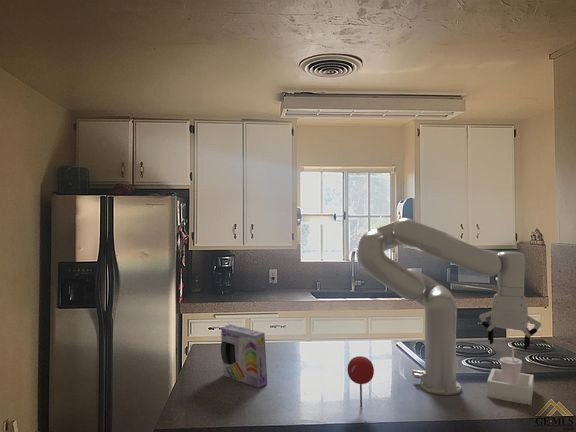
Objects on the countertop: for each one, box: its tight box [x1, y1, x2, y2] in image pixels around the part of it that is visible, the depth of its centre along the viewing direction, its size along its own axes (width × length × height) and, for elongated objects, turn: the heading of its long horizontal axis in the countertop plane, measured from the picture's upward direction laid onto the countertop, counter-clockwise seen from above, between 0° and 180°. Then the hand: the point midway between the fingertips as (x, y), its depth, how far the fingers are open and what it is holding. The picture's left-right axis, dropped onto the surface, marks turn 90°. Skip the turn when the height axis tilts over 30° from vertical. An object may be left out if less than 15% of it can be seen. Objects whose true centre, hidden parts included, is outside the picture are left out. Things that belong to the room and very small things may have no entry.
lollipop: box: [347, 355, 375, 408], centre depth 133 cm, size 8×8×15 cm
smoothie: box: [499, 346, 523, 385], centre depth 141 cm, size 6×6×14 cm
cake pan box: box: [220, 324, 268, 388], centre depth 155 cm, size 19×5×18 cm, turn 47°
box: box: [486, 368, 535, 406], centre depth 142 cm, size 12×12×5 cm
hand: (508, 345), depth 141 cm, fingers open, 9 cm apart
